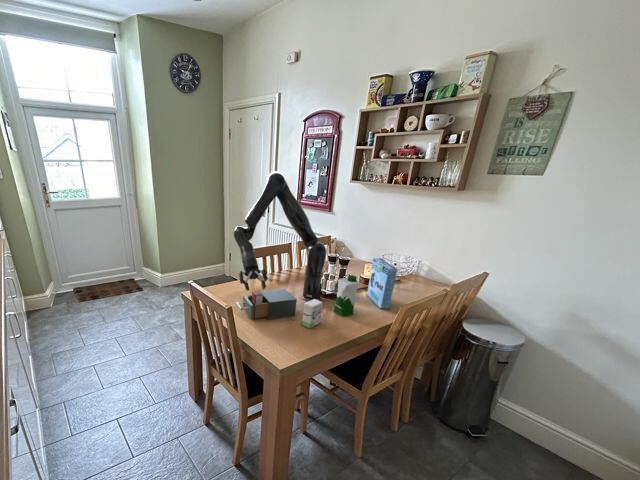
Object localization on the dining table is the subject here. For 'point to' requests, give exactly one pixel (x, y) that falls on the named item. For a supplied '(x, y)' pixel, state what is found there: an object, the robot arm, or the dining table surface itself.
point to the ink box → (312, 313)
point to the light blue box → (381, 283)
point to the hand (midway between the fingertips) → (256, 289)
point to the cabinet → (280, 303)
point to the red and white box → (256, 298)
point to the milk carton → (346, 295)
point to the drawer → (260, 309)
